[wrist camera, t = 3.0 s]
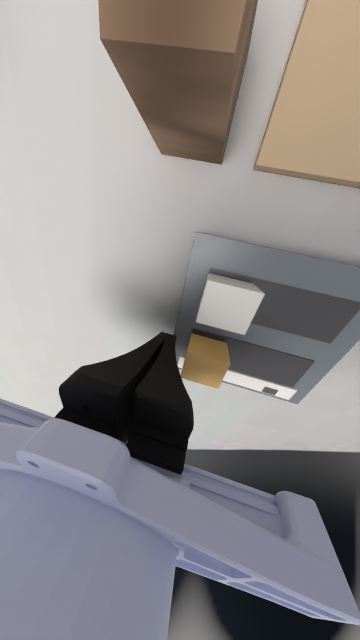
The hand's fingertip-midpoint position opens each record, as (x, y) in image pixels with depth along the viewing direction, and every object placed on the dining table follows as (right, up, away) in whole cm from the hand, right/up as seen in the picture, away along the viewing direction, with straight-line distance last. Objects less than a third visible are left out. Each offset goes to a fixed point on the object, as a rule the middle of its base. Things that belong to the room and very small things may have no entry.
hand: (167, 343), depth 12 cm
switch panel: (+8, +2, +1) cm, 8 cm away
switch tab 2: (+4, +4, -2) cm, 6 cm away
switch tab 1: (+3, -1, 0) cm, 3 cm away
